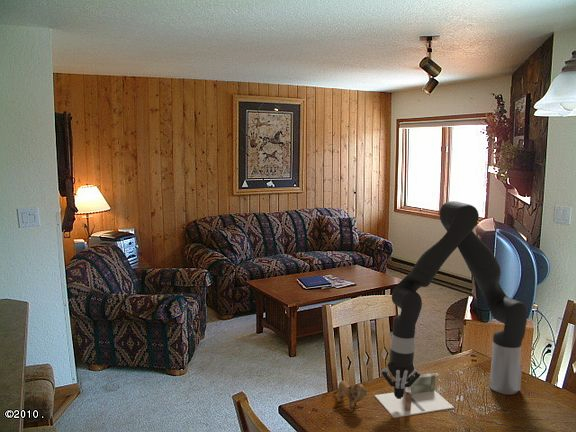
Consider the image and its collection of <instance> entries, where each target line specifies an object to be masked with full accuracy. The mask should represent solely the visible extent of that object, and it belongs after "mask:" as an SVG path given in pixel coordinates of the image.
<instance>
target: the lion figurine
mask: <svg viewBox="0 0 576 432" xmlns="http://www.w3.org/2000/svg"><path fill="white" fill-rule="evenodd" d="M337 387H338V388H337V390H336V391H334V392H333V394H334V395H336V394H338V395H337V396H338V397H337V401H338V403H342V399H341V397H344V396H345V397H346V398H347V399H348V410H349V411H350V412H351V411H354V409H353V407H354V408H359V406H358V405H357V403H359V402H360V401H362V400H364V399H365V397H366V396H367V394H368V392H369V390H368V389H366V388H365V387H364V384H362V383H361V384H360V383H359V384H356V385H349V384H348V382H347V381H346V380H340V381H339V383H338V386H337Z"/></svg>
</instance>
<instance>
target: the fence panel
mask: <svg viewBox="0 0 576 432" xmlns="http://www.w3.org/2000/svg"><path fill="white" fill-rule="evenodd" d="M411 396H412V394H411V388H410V387H405V410H411Z"/></svg>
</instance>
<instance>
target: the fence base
mask: <svg viewBox="0 0 576 432" xmlns="http://www.w3.org/2000/svg"><path fill="white" fill-rule="evenodd" d="M410 376H411V375H409V376H408V377H407V378H406V380H407V379H408V378H409V377H410ZM410 388H411V394H414V393H420V392H427V391H428V392H429V391H431V392H432V391H436V390H435V388H436V374H434V373H433V372H432V373H430V372H429V373H425V374H424V373H423V374H420V377H419V378H418V379H417V380H416V381H415V382H414V383H413V384H412V385H411V386H410ZM404 395H405V388H404Z"/></svg>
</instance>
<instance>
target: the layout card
mask: <svg viewBox="0 0 576 432" xmlns="http://www.w3.org/2000/svg"><path fill="white" fill-rule="evenodd" d="M374 398H376V400H378V402H379V404H381V406H382V407H384V408H385V410H386V411H387V412H388V413H389V414H390V415H391V417H392V418H394V419H396V418H402V417H407V416H408V417H409V416H415V415H420V414H428V413H434V412H435V413H436V412H439V411H446V410H452V409H455V407H454V406H453V405H452V404H451V403H450V402H449V401H447V399H445V398H444V397H443V396H442V395H441V394H439V392H438V391H436V390H435V391H432V392H431V391H429V392H428V391H427V392H420V393H414V394H412V396H411V410H405V395H404V394H403V397H401V399H397V398H396V397H395V395H394V391H393V392H387V393H382V394H381V393H380V394H374Z"/></svg>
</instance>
